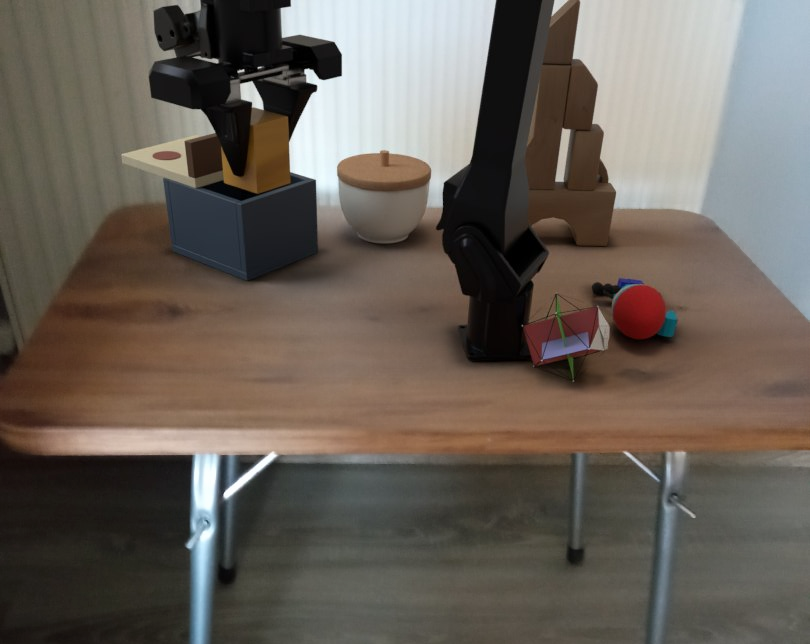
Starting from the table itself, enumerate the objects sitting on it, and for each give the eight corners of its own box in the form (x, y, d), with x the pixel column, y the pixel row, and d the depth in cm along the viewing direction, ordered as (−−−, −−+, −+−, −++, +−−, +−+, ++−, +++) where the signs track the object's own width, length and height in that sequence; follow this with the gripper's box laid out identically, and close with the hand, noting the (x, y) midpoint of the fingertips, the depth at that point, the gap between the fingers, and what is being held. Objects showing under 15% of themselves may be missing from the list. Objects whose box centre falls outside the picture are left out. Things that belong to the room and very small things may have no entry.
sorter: (318, 252, 101) (316, 179, 96) (247, 281, 95) (241, 204, 90) (244, 225, 107) (238, 155, 102) (172, 251, 100) (162, 177, 95)
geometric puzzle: (502, 360, 78) (568, 296, 74) (506, 325, 83) (568, 263, 79) (561, 409, 80) (629, 350, 76) (561, 372, 86) (625, 315, 81)
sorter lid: (271, 165, 99) (269, 122, 97) (195, 188, 93) (190, 142, 90) (198, 143, 105) (194, 101, 102) (122, 163, 98) (115, 119, 95)
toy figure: (582, 303, 97) (602, 344, 84) (593, 256, 94) (615, 291, 81) (651, 312, 97) (682, 355, 84) (663, 266, 94) (697, 302, 81)
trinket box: (427, 253, 102) (432, 168, 96) (334, 249, 102) (332, 163, 96) (427, 220, 111) (432, 140, 105) (341, 216, 110) (340, 136, 105)
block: (291, 183, 86) (288, 116, 82) (257, 194, 83) (253, 125, 79) (257, 172, 88) (253, 106, 84) (223, 183, 85) (217, 115, 81)
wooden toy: (596, 226, 111) (635, -8, 95) (607, 246, 106) (651, 2, 90) (472, 223, 110) (491, -13, 94) (477, 243, 105) (498, -3, 89)
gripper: (255, -43, 84) (265, 133, 94) (91, -26, 73) (122, 173, 83) (345, -28, 79) (345, 156, 89) (185, -7, 68) (206, 202, 77)
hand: (257, 170), depth 85 cm, fingers closed on block, 4 cm apart
